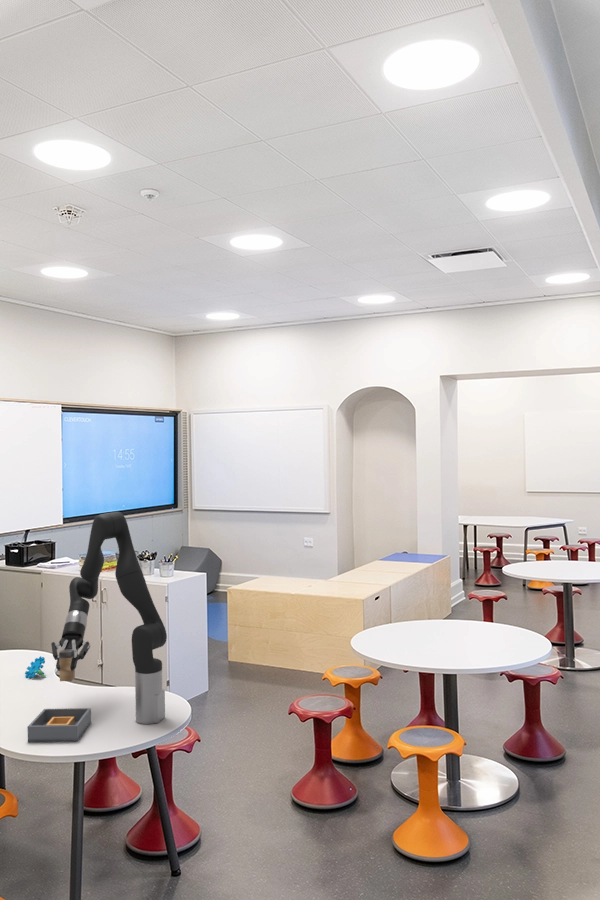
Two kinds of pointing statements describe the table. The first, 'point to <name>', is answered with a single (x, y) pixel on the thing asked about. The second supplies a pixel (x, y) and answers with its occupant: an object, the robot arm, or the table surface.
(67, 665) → the plug
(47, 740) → the box
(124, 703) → the table surface
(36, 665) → the blue lumpy cluster
